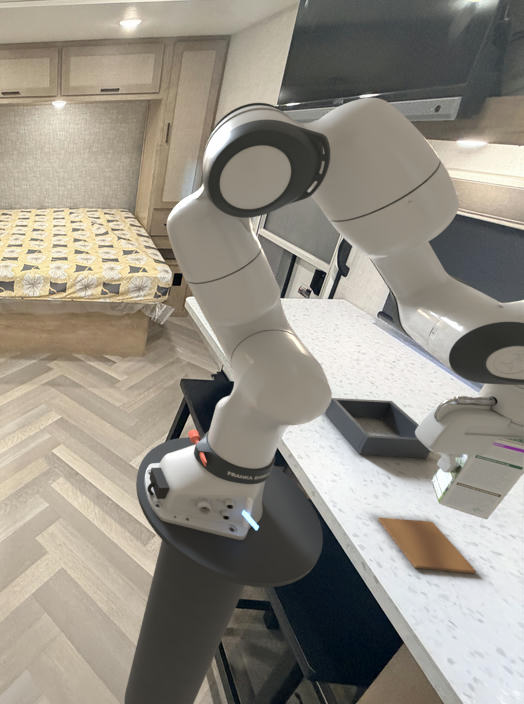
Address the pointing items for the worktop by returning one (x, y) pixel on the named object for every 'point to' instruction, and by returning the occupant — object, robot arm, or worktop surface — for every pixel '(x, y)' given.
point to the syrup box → (481, 479)
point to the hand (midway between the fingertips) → (477, 471)
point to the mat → (425, 545)
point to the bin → (367, 444)
